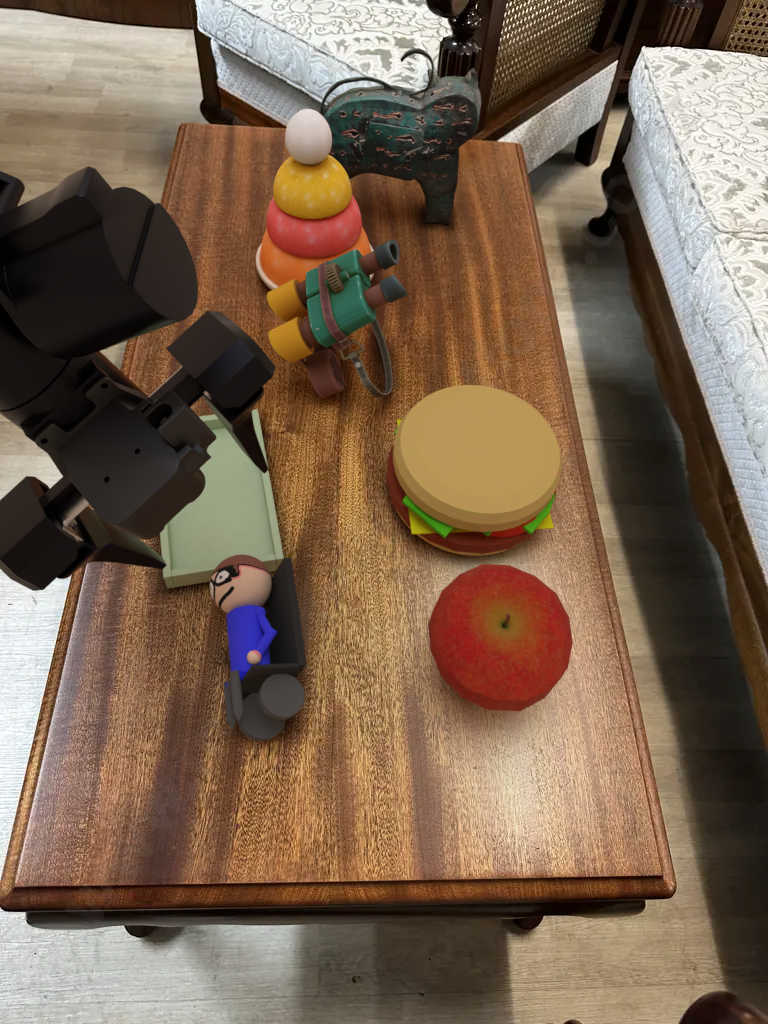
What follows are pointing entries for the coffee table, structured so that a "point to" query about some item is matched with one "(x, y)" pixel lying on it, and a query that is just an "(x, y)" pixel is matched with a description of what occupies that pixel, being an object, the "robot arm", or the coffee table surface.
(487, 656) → the apple
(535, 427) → the hamburger
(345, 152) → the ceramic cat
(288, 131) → the stacking toy
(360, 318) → the binoculars
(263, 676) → the character figurine
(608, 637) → the coffee table surface
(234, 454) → the tray
